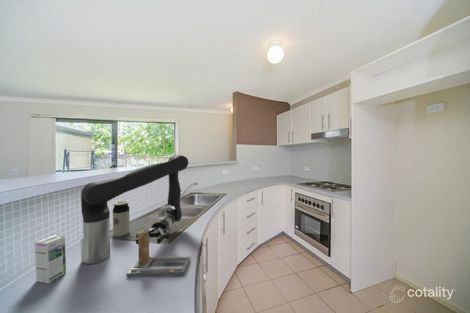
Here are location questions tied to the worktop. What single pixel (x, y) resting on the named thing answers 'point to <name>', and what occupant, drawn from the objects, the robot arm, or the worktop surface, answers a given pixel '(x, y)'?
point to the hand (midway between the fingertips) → (147, 241)
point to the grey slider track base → (162, 267)
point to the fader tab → (143, 250)
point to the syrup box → (50, 258)
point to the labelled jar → (121, 218)
